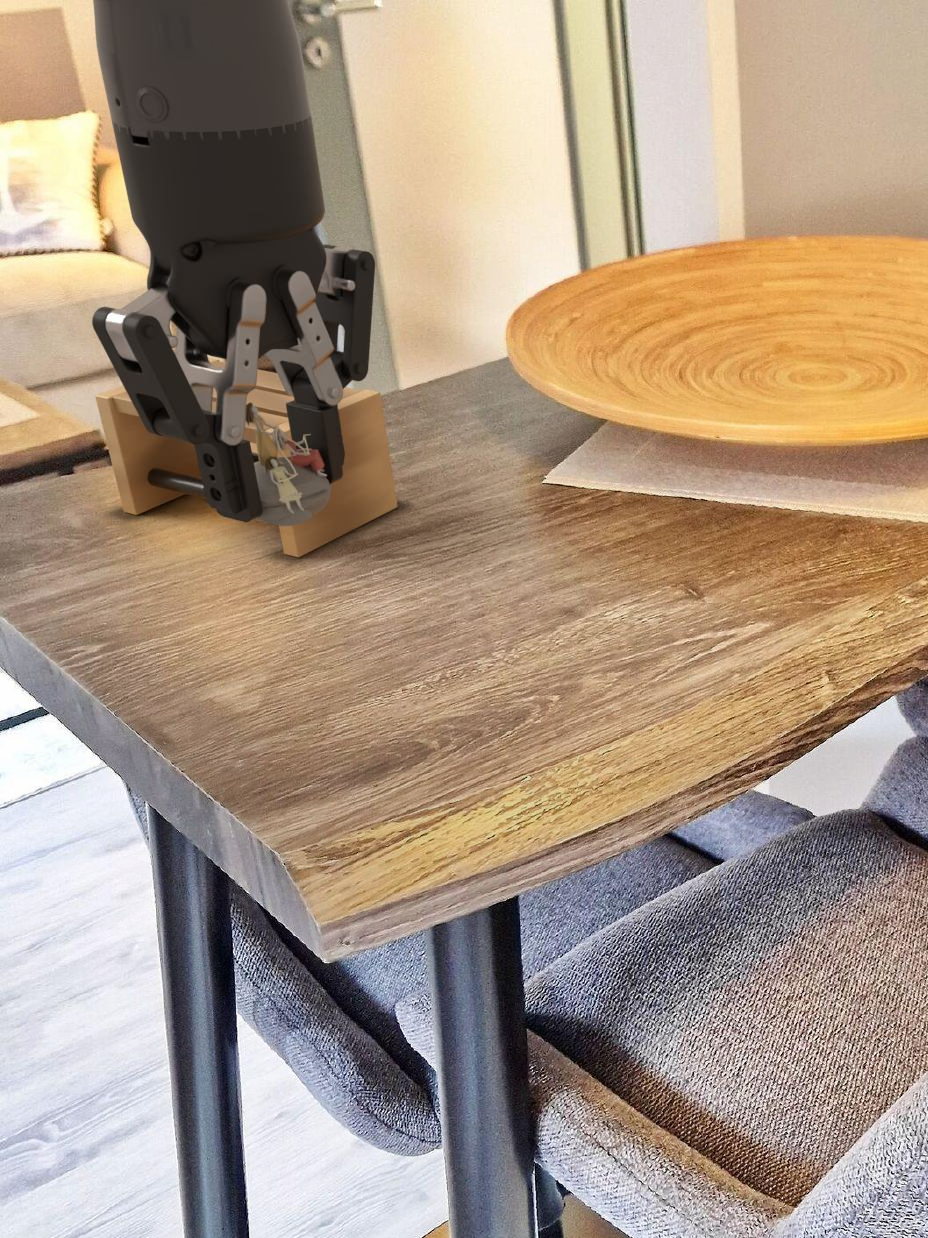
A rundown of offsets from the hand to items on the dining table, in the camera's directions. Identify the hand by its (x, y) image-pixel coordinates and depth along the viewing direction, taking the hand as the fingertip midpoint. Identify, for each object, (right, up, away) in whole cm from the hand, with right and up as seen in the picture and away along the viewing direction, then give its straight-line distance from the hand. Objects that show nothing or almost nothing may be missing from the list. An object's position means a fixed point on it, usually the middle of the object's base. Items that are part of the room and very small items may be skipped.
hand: (281, 496), depth 69 cm
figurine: (0, -1, +1) cm, 2 cm away
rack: (-14, +3, +30) cm, 33 cm away
